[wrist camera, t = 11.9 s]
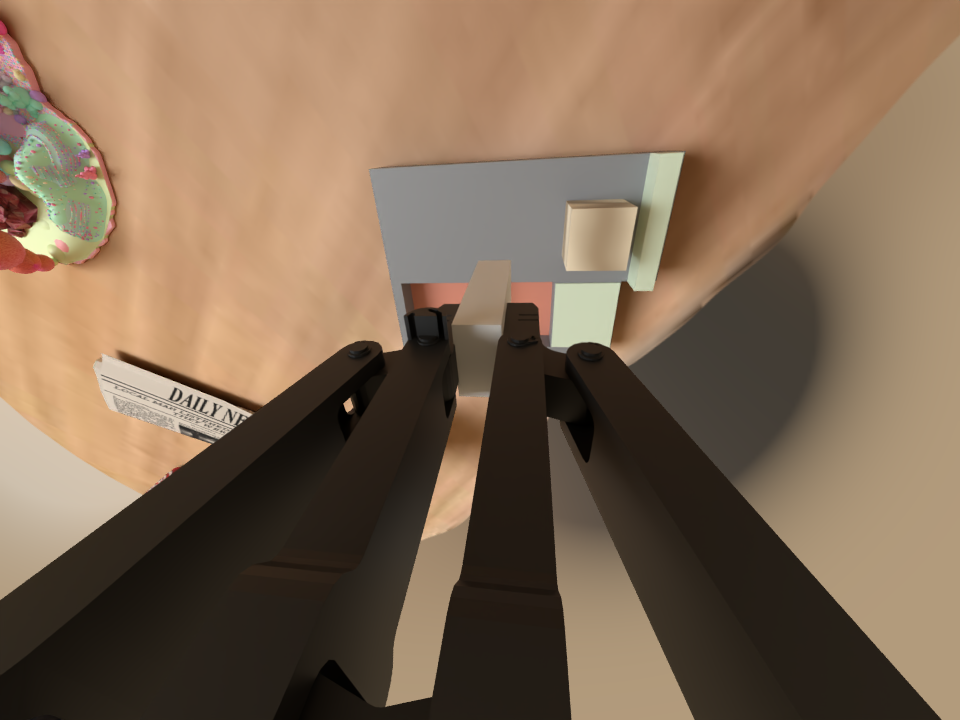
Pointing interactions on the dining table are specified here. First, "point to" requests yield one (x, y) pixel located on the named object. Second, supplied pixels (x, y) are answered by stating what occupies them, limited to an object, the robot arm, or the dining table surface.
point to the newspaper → (165, 401)
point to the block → (598, 234)
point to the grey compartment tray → (521, 233)
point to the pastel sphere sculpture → (46, 177)
